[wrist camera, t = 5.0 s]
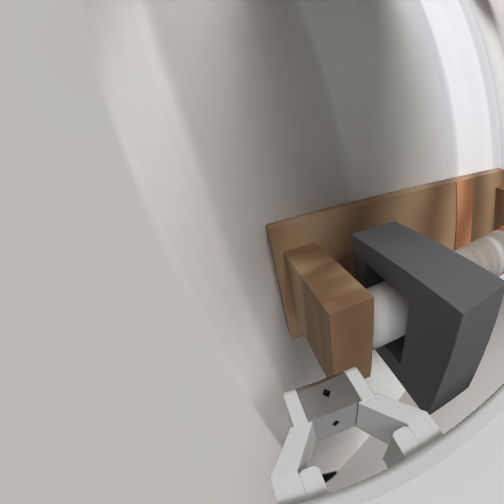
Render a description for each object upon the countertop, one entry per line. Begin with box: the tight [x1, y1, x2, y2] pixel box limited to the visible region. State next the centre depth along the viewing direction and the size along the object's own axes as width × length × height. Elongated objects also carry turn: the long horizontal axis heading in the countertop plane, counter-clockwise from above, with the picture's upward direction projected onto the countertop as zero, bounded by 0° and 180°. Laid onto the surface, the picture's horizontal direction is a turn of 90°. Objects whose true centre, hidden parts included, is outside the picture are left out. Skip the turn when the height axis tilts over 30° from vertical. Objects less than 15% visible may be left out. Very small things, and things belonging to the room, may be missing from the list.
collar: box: [351, 221, 504, 415], centre depth 12 cm, size 3×6×8 cm, turn 14°
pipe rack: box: [266, 168, 504, 379], centre depth 15 cm, size 25×8×8 cm, turn 104°
